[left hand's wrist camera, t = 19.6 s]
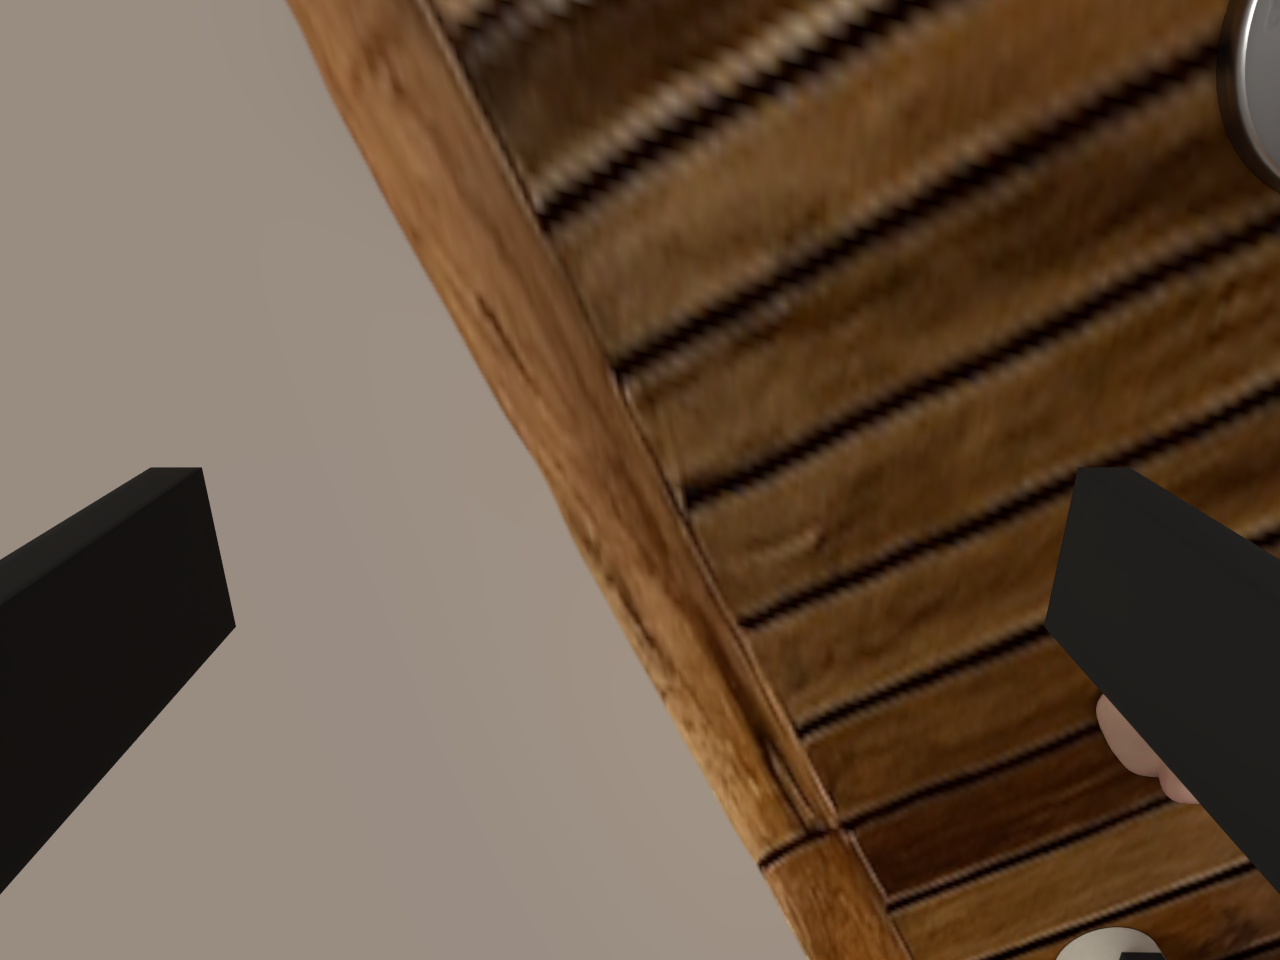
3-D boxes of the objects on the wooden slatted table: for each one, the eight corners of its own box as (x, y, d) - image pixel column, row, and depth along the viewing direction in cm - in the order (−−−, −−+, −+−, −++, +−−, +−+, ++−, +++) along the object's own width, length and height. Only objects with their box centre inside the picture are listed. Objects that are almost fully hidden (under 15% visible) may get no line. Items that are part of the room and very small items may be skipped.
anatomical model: (1096, 775, 47) (1247, 631, 43) (1063, 730, 50) (1199, 594, 47) (1255, 866, 49) (1410, 738, 46) (1212, 817, 53) (1352, 695, 49)
